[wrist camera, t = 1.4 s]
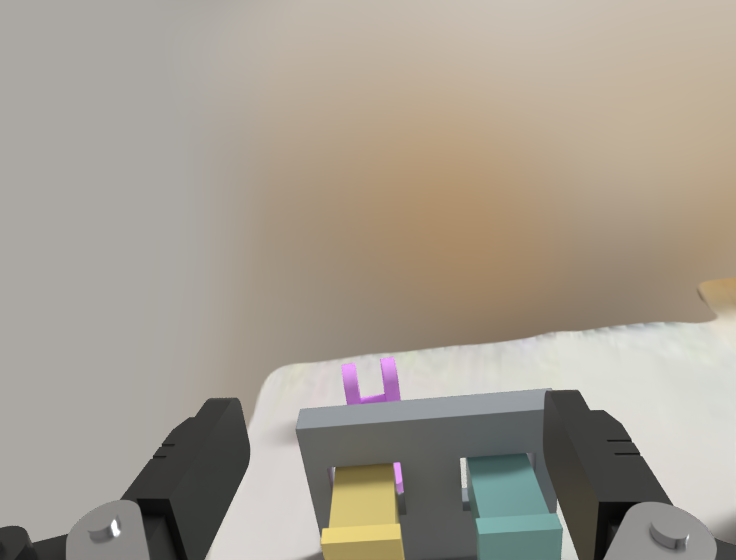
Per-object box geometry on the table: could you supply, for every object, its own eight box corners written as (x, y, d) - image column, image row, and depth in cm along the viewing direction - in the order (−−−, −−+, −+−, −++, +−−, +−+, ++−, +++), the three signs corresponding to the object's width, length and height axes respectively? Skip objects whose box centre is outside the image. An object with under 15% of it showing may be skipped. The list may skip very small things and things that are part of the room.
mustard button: (402, 501, 35) (396, 453, 33) (407, 591, 29) (400, 538, 27) (340, 505, 35) (331, 458, 33) (332, 595, 29) (320, 543, 27)
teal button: (527, 493, 34) (528, 443, 32) (559, 582, 28) (562, 528, 26) (463, 497, 34) (460, 448, 32) (480, 587, 28) (478, 534, 26)
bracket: (349, 409, 54) (341, 358, 51) (398, 401, 54) (391, 350, 51) (358, 503, 42) (347, 443, 39) (419, 493, 42) (413, 432, 39)
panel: (533, 501, 40) (537, 362, 34) (553, 558, 35) (562, 407, 30) (334, 515, 41) (306, 382, 35) (328, 571, 36) (295, 429, 31)
